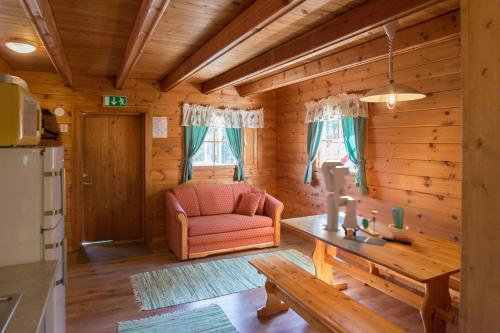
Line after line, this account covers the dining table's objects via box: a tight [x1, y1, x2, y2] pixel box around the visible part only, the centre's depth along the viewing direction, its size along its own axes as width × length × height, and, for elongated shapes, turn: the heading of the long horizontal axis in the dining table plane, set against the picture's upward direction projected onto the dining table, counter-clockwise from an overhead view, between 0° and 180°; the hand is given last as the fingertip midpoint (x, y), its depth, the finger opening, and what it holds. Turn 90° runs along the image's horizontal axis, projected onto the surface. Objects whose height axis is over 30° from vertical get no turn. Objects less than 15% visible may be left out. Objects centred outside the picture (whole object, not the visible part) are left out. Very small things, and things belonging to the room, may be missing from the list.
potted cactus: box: [387, 205, 410, 239], centre depth 271 cm, size 15×15×25 cm
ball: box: [347, 228, 354, 237], centre depth 269 cm, size 6×6×6 cm
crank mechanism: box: [356, 210, 380, 237], centre depth 285 cm, size 25×7×19 cm, turn 13°
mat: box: [342, 235, 387, 247], centre depth 263 cm, size 30×13×1 cm, turn 56°
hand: (350, 235), depth 269 cm, fingers closed on ball, 5 cm apart
